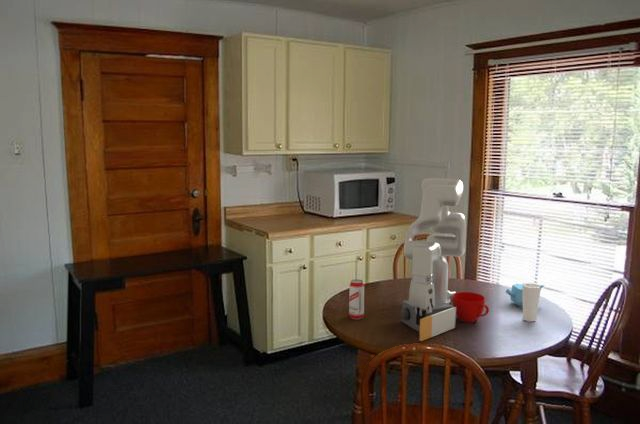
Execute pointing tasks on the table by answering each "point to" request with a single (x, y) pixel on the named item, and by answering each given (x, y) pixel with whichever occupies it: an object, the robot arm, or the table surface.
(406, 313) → the block
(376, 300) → the table surface
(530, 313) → the drinking glass
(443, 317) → the side door
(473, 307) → the ceramic cup
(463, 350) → the table surface
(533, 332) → the table surface
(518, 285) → the teapot
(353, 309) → the beer can
